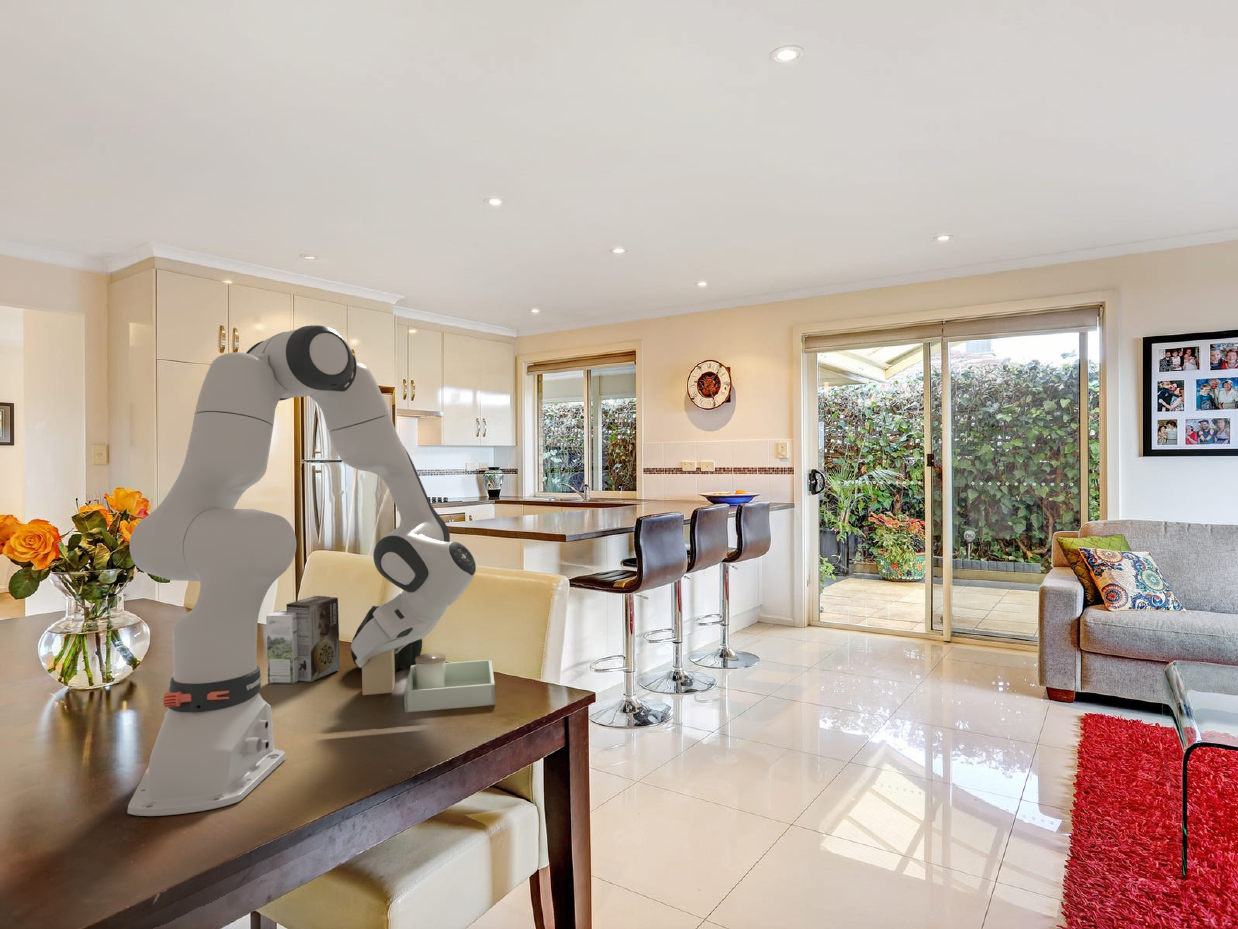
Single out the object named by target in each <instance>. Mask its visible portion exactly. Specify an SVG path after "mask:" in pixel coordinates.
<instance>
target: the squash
mask: <svg viewBox="0 0 1238 929" xmlns="http://www.w3.org/2000/svg"><path fill="white" fill-rule="evenodd" d="M380 606H381V605H378V606H376V605H372V606H371V608H370V609H369V610H368V612H367V613H366V614H365V615H366V616H365V617H364V618H363V620H362V622H361V623H360V624H359V626H358V627H357V630H356V632H355V634H354V636H353V638H352V641H351V643H352V642H353V640H354V639H355V638H356V636H357V635H358V634H359V632H360V631H361V630H362V629H363V627H364V626H365V625H366V624H367V623H368V622H369V621H370V620H371V619H373V618H374V616H373V613H374V611H375V610H376V609H377V608H378V607H380ZM422 648H423V638H422V639H419V640H416V641H414V642H411V643H409V644H407V645H406V646H405V647H403V648H402V649H401V650H400V651H399V652H398V653H397V654H394V663H395V673H397V671H398V670H404V669H406V668H408V667H409V666H411V665H414V664H416V662H415V658H416V657H417V656H419V655H422V654H421V652H422ZM350 655H351V659H352V661H353V663H354V665H355V666H356V667H357V668H358V669H359V670H360V671H362V667H361V668H360V667H358V665H357V664H356V662H355V661H356V659H357V657H356V655H355V654H354V652H353V651H352V649H351V648H350Z"/></svg>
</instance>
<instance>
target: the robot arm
mask: <svg viewBox="0 0 1238 929" xmlns="http://www.w3.org/2000/svg"><path fill="white" fill-rule="evenodd" d="M308 396H309V397H310V398H311V399H312V400H313V401H314V402H315V403H317V405H318V407H319V409H320V410H321V412H322V415H323V417H324V422H325V425H326V428H327V430H328V434H329V437H330V439H331V442H332V444H333V448H334V449H335V451H336V453H337V454H338V456H339V458H340V460H342V462H343V463H344V464H346V465H347V466H349V467H350V468H353V469H355V470H358V471H363V472H369V473H373V474H375V475H377V476H378V477H380V478H381V479H382V480H383V481H384V483H385V485H386V487H387V488H388V491H389V493H390V496H391V497H392V500H393V503H394V504H395V507H396V509H397V511H398V514H399V517H400V521H399V526H398V527H397V528H395V529H393V530H392V531H391V532H388V533H387V535H385V536H384V537H383V538H381V539H380V540H379V541H378V542H377V543H376V545H375V547H374V549H373V555H372V556H373V557H372V558H373V563H374V566H375V568H376V570H377V572H378V573H379V574H380V575H381V576H382V577H383V578H385V579H386V580H387V581H388V582H390V583H391V584H393V585H394V586H396V587H397V588H399V589H400V590H403V591H402V592H401V593H399V594H398V595H396V596H395V597H394V598H393V599H391V600H389V601H388V602H386V603H384V604H382V605H379V606H380V607H378V608H377V609H376V610H375V611H374V613H373V616H374V618H373V619H371V620H370V621H369V622H368V623H367V624H366V625H365V626H364V627H363V629H362V630H361V631H360V632H359V634H358V635H357V636H356V638H355V639H354V640H353V639H352V640H353V642H352V641H351V644H350V650H351V649H352V651H353V652H354V654H355V655H356V657H357V659H356V661H355V662H356V664H357V665H358V667H360V668H361V667H363V666H366V665H367V664H368V663H369V661H370V660H369V658H371V657H374V656H377V655H379V654H382V653H385V652H387V651H390V650H393V649H394V654H397V653H398V652H399V651H400V650H401V649H402V648H403V647H405V646H406V645H407V644H409V643H411V642H414V641H416V640H419V639H422V640H423V639H424V638H426V637H427V636H428V635H429V634H430V633H431V632H432V631H433V629H435V627H436V626H437V624H438V623H439V622H440V620H441V618H442V617H443V616H444V615H445V614H446V611H447V608H448V607H450V606H452V605H453V604H454V603H455V602H456V601H457V600H458V599H459V598H460V597H461V596H462V594H463V593H465V590H466V589H467V588H468V587H469V585H470V584H471V582H472V580H473V579H474V577H475V574H476V572H477V571H476V570H477V567H476V560H475V558H474V556H473V554H472V552H471V551H470V550H469V549H468V548H467V547H466V546H465V545H464V544H462V543H460V542H458V541H451V534H450V531H449V527H448V526H447V524H446V522H445V521H444V519H443V518H442V517H441V515H439V514H438V513H437V510H435V509H434V507H433V505H432V503H431V502H430V499H429V497H428V495H427V492H426V489H425V488H424V486H423V482H422V481H421V478H420V476H419V474H418V471H417V469H416V467H415V464H414V461H412V458H411V456H410V454H409V452H408V450H407V449H406V447H405V446H404V445H403V443H402V441H401V439H400V437H399V434H398V432H397V430H396V428H395V424H394V422H393V420H392V417H391V414H390V411H389V408H388V405H387V402H386V400H385V398H384V395H383V394H382V392H381V388H380V387H379V385H378V383H377V380H376V379H375V377H374V376H373V374H372V372H371V370H370V369H369V367H367V366H366V365H364V364H363V363H360V362H357V360H356V357H355V355H354V354H353V351H352V350H351V347H350V346H349V344H348V342H347V341H346V340H345V338H344V337H343V336H342V335H341V334H340V333H339V332H337V331H336V330H335V329H333V328H331V327H329V326H325V325H319V324H318V325H313V324H311V325H305V326H300V327H298V328H297V329H292V330H288V331H283V332H279V333H276V334H274V335H272V336H270V337H269V338H267V339H265V340H261V341H259V342H257V343H255V344H254V345H253V346H251V347H250V348H249V349H248V350H247V351H246V352H238V351H237V352H235V351H234V352H227V353H224V354H223V353H222V355H219V356H217V357H216V358H215V359H214V360H213V361H212V362H211V364H210V366H209V367H208V370H207V372H206V374H205V377H204V380H203V382H202V386H201V388H200V391H199V394H198V399H197V401H196V402H197V403H196V407H195V411H194V417H193V420H192V427H191V432H190V437H189V441H188V446H187V450H186V454H185V458H184V461H183V465H182V467H181V469H180V472H179V474H178V475H177V478H176V480H175V482H174V484H173V485H172V487H171V489H170V490H169V492H168V493H167V495H166V496H165V498H164V499H163V500H162V501H161V503H160V504H159V505H158V506H157V507H156V508H155V509H154V510H153V511H152V512H151V513H149V514H148V515H147V516H145V517H143V518H142V519H141V520H139V522H138V523H137V524H136V525H135V527H134V528H133V530H132V532H131V534H130V539H129V544H128V545H129V555H130V558H131V560H132V563H133V564H134V565H135V566H136V568H138V570H140V571H142V572H143V573H146V574H148V575H151V576H155V577H156V578H157V577H158V578H162V579H165V580H168V581H178V582H179V581H184V582H199V583H200V587H199V592H198V597H197V599H196V602H195V604H194V606H193V608H192V609H191V610H190V611H188V612H187V613H185V614H183V615H182V616H181V617H180V618H179V619H178V620H177V621H176V623H175V624H174V626H173V629H172V668H173V669H172V671H173V672H172V673H173V675H172V676H173V677H172V678H171V679H170V682H169V687H168V691H167V692H165V693H164V695H163V699H162V700H163V701H162V703H163V704H162V706H163V707H164V708H166V709H167V708H168V710H167V711H166V712H165V713H164V718H163V720H162V723H161V726H160V728H159V731H158V733H157V736H156V740H155V742H154V745H153V747H152V751H151V753H150V757H149V759H148V767H147V769H146V770H145V772H144V774H143V776H142V778H141V780H140V782H139V784H138V785H137V788H136V789H135V791H134V793H133V796H132V797H131V799H130V801H129V802H128V806H127V814H128V815H133V816H141V817H143V816H145V817H156V816H157V817H158V816H159V817H160V816H172V815H173V816H174V815H181V814H189V813H190V814H191V813H196V812H204V811H207V810H213V809H214V810H215V809H218V808H222V807H226V806H229V805H234V804H235V803H238V802H241V801H242V800H243V799H244V798H246V796H247V795H248V794H250V793H251V792H252V791H254V789H255V788H256V787H257V786H258V785H260V783H262V782H263V780H264V779H266V778H267V777H268V776H269V775H270V774H271V773H272V772H273V771H274V770H275V769H277V767H279V765H281V763H283V762H284V761H285V760H286V753H285V751H284V750H281V749H277V748H275V738H274V726H273V714H272V713H273V712H272V711H273V710H272V706H271V705H270V704H269V703H268V702H267V701H266V700H265V699H263V697H262V695H261V693H260V691H261V689H262V686H261V682H262V674H261V667H260V666H258V665H257V664H258V658H257V657H258V655H257V653H258V652H257V651H258V650H257V649H258V622H259V621H258V620H259V615H260V610H261V607H262V605H263V602H264V599H265V597H266V595H267V593H268V590H269V589H270V588H271V586H272V585H273V584H274V582H275V581H277V579H278V578H279V577H281V576H282V575H283V574H284V573H285V572H286V571H287V570H288V569H289V567H290V566H291V565H292V563H293V561H294V558H295V555H296V551H297V537H296V533H295V530H294V528H293V526H292V525H291V523H290V522H289V521H288V519H286V517H283V516H282V515H278V514H276V513H271V512H267V511H263V510H260V509H259V510H258V509H255V508H254V509H253V508H236V505H237V503H238V502H239V499H240V498H241V497H242V496H243V494H244V493H245V492H246V491H247V490H248V489H250V488H251V487H252V486H254V485H255V484H257V483H258V482H259V481H261V479H262V478H264V476H265V474H266V472H267V470H268V463H269V457H270V456H269V455H270V449H271V444H272V438H273V430H274V424H275V418H276V417H275V415H276V409H277V407H278V404H279V402H281V401H285V400H289V399H294V398H303V397H308ZM358 667H357V668H358Z"/></svg>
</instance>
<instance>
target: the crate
mask: <svg viewBox="0 0 1238 929" xmlns="http://www.w3.org/2000/svg"><path fill="white" fill-rule="evenodd" d="M445 686H446V687H444V688H432V689H419V690H416V664H410V668H409V671H408V676H407V680H406V684H405V687H404V691H403V692H404V695H403V696H404V697H403V698H404V703H403V704H404V713H415V712H416V713H417V712H429V711H437V710H450V709H451V710H452V709H464V708H474V707H484V706H496V684H495V676H494V669H493V661H492V659H481V660H469V661H467V660H465V661H455V662H453V661H452V662H445Z"/></svg>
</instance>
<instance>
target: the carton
mask: <svg viewBox="0 0 1238 929" xmlns="http://www.w3.org/2000/svg"><path fill="white" fill-rule="evenodd" d="M369 660H370V661H369V663H368V664H367V665H366V666H363V667H362V670H361V682H362V684H361V686H362V688H361V690H362V692H361V693H362V696H366V695H367V696H368V695H381V694H390V693H391V694H393V691H394V688H395V685H396V679H395V678H396V677H395V676H396V674H395V673H396V672H395V663H394V649H393V650H390V651H387V652H385V653H382V654H379V655H377V656H374V657H371V658H369Z"/></svg>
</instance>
